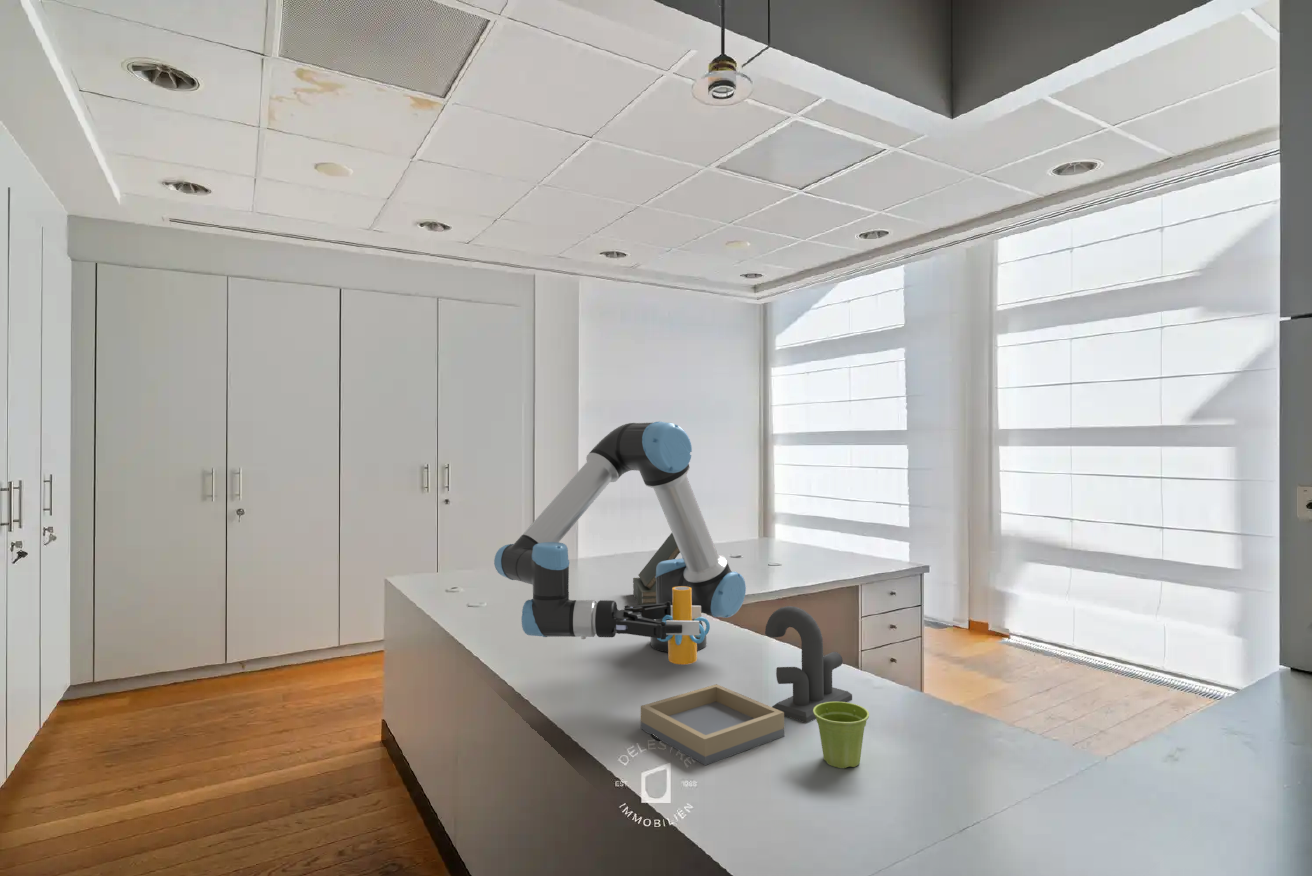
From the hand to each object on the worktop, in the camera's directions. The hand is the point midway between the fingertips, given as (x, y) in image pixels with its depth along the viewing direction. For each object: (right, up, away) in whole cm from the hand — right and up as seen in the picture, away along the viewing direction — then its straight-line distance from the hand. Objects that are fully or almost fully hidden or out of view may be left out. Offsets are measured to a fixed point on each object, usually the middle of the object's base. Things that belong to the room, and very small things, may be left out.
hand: (700, 619), depth 149 cm
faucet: (+21, -19, +4) cm, 28 cm away
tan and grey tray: (+1, -19, -11) cm, 22 cm away
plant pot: (+23, -19, -24) cm, 38 cm away
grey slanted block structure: (-6, -19, +98) cm, 100 cm away
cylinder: (-4, -9, 0) cm, 9 cm away
